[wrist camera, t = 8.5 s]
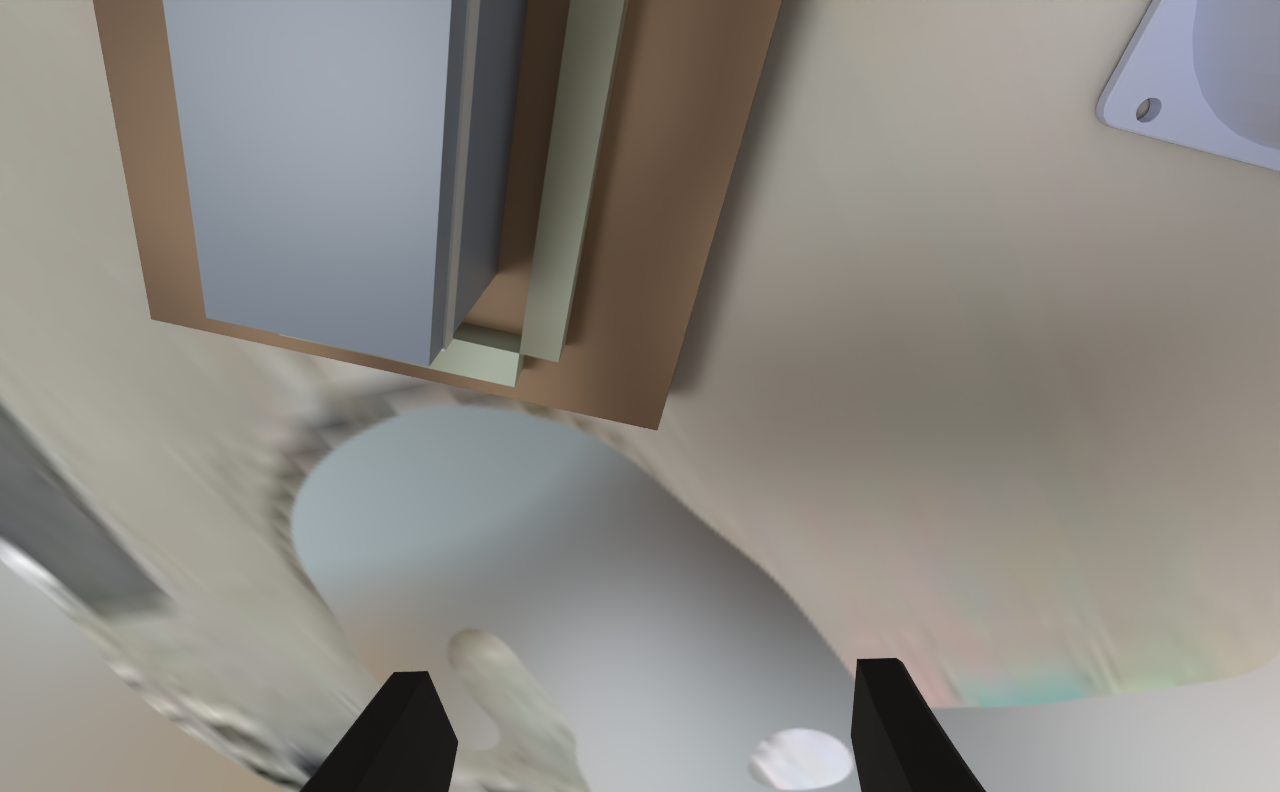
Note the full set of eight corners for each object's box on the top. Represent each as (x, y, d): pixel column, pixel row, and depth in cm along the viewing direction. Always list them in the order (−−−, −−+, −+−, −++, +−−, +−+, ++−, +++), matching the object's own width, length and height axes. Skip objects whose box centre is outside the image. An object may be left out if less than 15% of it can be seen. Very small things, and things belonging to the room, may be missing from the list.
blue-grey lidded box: (545, -127, 12) (469, -211, 8) (498, 276, 16) (431, 369, 12) (324, -187, 12) (116, -312, 7) (334, 238, 16) (203, 320, 11)
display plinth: (824, -191, 13) (861, -245, 10) (659, 395, 20) (656, 450, 17) (103, -402, 12) (-58, -520, 9) (199, 291, 19) (123, 334, 16)
